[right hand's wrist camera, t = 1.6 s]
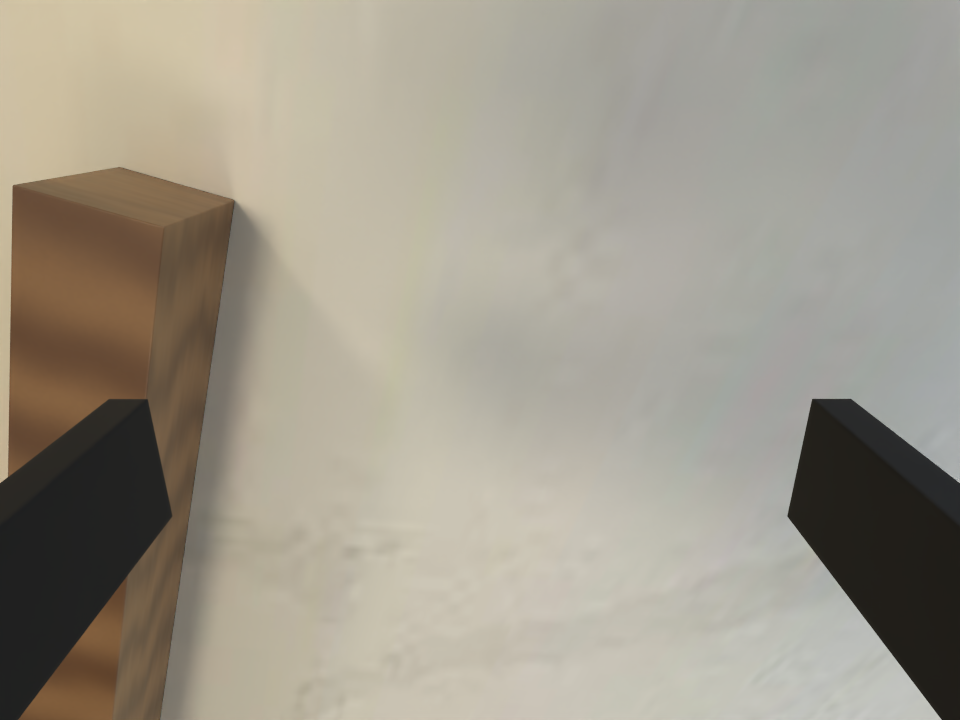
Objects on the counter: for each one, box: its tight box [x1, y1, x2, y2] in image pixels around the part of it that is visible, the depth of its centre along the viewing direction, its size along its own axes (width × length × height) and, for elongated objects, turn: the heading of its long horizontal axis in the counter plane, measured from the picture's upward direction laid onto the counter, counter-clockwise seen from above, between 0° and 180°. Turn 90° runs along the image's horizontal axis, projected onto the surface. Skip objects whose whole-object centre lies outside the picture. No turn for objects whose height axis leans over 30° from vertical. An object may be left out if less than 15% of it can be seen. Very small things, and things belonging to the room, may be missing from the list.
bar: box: [8, 167, 234, 720], centre depth 37 cm, size 56×6×7 cm, turn 164°
